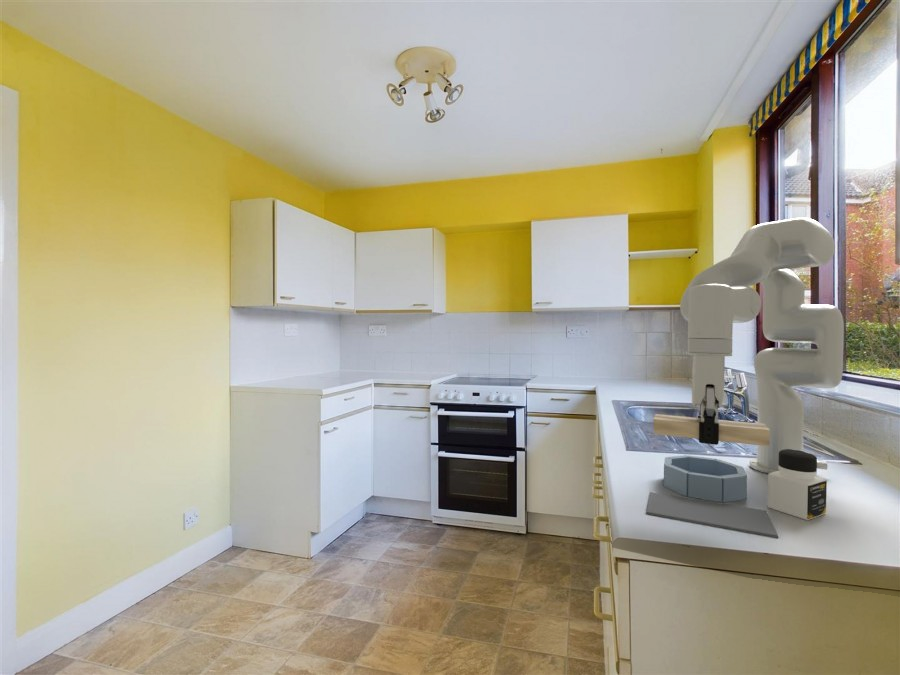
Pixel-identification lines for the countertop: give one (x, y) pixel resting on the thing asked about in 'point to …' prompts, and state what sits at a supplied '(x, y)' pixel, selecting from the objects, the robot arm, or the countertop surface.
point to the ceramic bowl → (705, 478)
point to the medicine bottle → (797, 485)
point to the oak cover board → (727, 429)
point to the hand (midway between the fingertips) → (707, 438)
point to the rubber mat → (711, 514)
